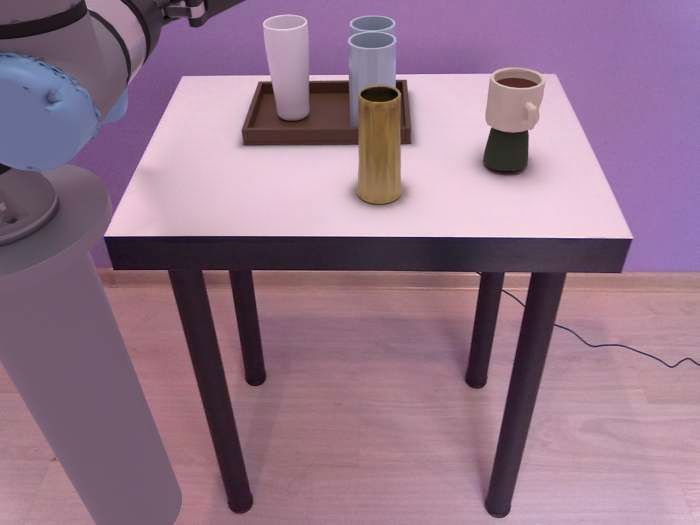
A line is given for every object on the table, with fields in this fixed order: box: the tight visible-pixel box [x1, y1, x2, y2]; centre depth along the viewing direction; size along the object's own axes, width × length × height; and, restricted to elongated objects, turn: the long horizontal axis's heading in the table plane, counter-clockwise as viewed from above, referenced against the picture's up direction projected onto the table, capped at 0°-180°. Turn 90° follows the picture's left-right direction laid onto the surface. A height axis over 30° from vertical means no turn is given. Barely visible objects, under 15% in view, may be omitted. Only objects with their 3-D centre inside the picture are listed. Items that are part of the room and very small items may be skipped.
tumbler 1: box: [349, 14, 396, 38], centre depth 100 cm, size 7×7×14 cm
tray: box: [241, 79, 412, 146], centre depth 101 cm, size 26×18×3 cm
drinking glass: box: [262, 14, 311, 121], centre depth 97 cm, size 7×7×15 cm
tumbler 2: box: [347, 31, 398, 127], centre depth 94 cm, size 7×7×14 cm
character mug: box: [482, 67, 546, 172], centre depth 85 cm, size 11×7×13 cm, turn 15°
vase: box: [356, 85, 403, 205], centre depth 80 cm, size 6×6×14 cm
